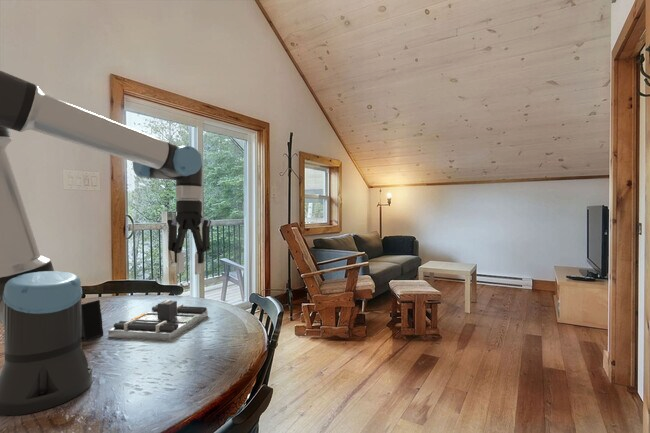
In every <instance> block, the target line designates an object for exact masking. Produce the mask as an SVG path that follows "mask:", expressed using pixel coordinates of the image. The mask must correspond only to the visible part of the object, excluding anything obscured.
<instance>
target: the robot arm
mask: <svg viewBox="0 0 650 433" xmlns="http://www.w3.org/2000/svg"><path fill="white" fill-rule="evenodd" d="M10 130H13V131H16V132H19V133H22V132H26V131H30V130H31V131H35V132H38V133H40V134H43V135H48V136H50V137H53V138H57V139H58V140H63V141H65V142H69V143H73V144H76V145H79V146H82V147H86V148H88V149H91V150H94V151H98V152H101V153H104V154H108V155H111V156H114V157H117V158H120V159H123V160H127V161H130V162H132V168H133V173H134V174H135V175H136V176H137V177H138V178H146V179H156V180H172V181H175V187H176V188H175V199H176V203H175V211H176V216H175V218H172V219H167V225H168V251H169V252H170V251H171V252H173V254H174V263H175V264H176V275H180V274H183V273H185V252H184V250H183V247H184V244H185V243H184V242H185V238H186V234H187V232H188V230H190V232H191V233H192V236H193V240H194V244H195V248H196V249H195V250H196V252H195V253H194V275H199V274H202V264H204V262H205V260H204V259H205V253H206V252H209V251H210V249H211V241H210V240H211V238H210V237H211V236H210V235H211V234H210V226H211V225H212V224H211V223H212V220H211V219H206V218H204V217H203V215H202V212H203V202H202V201H201V199H202V198H203V190H202V189H203V188H202V185H203V184H202V183H203V158H202V154H201V153H200V152H199V150H197V149H196V148H195V147H193V146H191V145H180V146H179V145H176V144H173V143H171V142H168V141H165V140H162V139H160V138H158V137H156V136H155V137H154V136H152V135H150V134H148V133H145V132H142V131H140V130H137V129H135V128H132V127H129V126H127V125H125V124H121V123H119V122H117V121H114V120H112V119H110V118H107V117H104V116H103V115H98V114H96V113H94V112H91V111H88V110H87V109H84V108H81V107H79V106H76V105H73V104H71V103H69V102H66V101H64V100H61V99H58V98H55V97H53V96H51V95H48V94H46V93H44V92H43V91H42V90H41V89H40V88H39V86H38V85H37V84H35V83H32V82H30V81H27V80H24V79H23V78H20V77H17V76H15V75H13V74H11V73H10V74H9V73H7V72H5V71H2V70H0V323H1V325H2V326H3V332H4V333H3V334H4V335H3V336H4V337H3V338H4V340H3V342H4V345H3V346H4V363H3V367H2V370H1V371H0V415H1V416H19V415H21V416H22V415H27V414H33V413H36V412H40V411H44V410H47V409H50V408H54V407H57V406H59V405H62V404H64V403H67V402H68V401H71V400H72V399H75V398H76V397H78V396H80V395H81V394H83V393H85V391H87V390H88V389H89V387H90V386H91V385H92V383H93V371H92V367H91V366H90V365H89V362H88V359H87V356H86V355H85V352H84V350H83V347H82V337H81V304H82V296H83V288H82V285H81V284H82V283H81V282H82V281H81V278H80V277H79V276H78V275H77V274H75V273H72V272H68V271H58V270H55V269H54V266H53V263H52V260H51V258H49V257H47V256H45V255H42V254H40V251H39V247H38V244H37V242H36V239H35V235H34V233H33V230H32V226H31V223H30V221H29V217H28V213H27V211H26V208H25V205H24V201H23V198H22V195H21V193H20V189H19V187H18V183H17V180H16V178H15V174H14V171H13V168H12V165H11V162H10V159H9V156H8V153H7V152H8V151H7V150H6V149H7V146H8V145H9V144H10V143H11V142H12V141H13V138H12V135H11V131H10ZM200 224H201V225H202V226H201V229H200ZM177 225H179V226H177Z"/></svg>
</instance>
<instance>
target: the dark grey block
mask: <svg viewBox="0 0 650 433" xmlns="http://www.w3.org/2000/svg"><path fill="white" fill-rule="evenodd" d="M157 305H158V320H171V319H173V318H175V317H176V316H177V306H178V301H177V300H172V299H168V300H163V301H161V302H158V303H157Z"/></svg>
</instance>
